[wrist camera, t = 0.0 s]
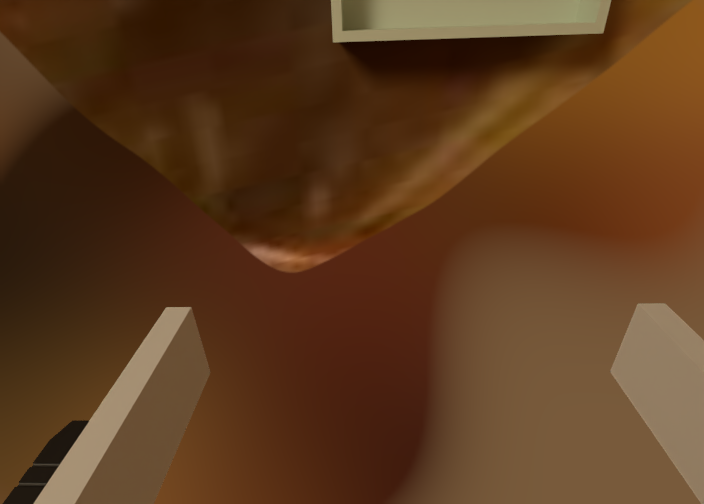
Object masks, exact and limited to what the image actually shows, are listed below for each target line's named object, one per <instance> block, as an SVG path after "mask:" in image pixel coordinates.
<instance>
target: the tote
mask: <svg viewBox="0 0 704 504" xmlns="http://www.w3.org/2000/svg"><path fill="white" fill-rule="evenodd" d="M610 4H611V0H331V9H332V30H333V42H360V41H390V40H420V39H450V38H480V37H510V36H540V35H570V34H600V33H603V32H604V28H605V24H606V20H607V16H608V12H609V8H610Z"/></svg>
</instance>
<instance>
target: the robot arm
mask: <svg viewBox="0 0 704 504" xmlns="http://www.w3.org/2000/svg"><path fill="white" fill-rule="evenodd" d="M610 372H611V374H612V375H613V377H614V378H615V379H616V381H617V382H618V384H619V385H620V387H621V388H622V389H623V391H624V393H625V394H626V395H627V396H628V398H629V400H630V401H631V403H632V404H633V406H634V407H635V409H636V410H637V411H638V413H639V414H640V416H641V417H642V419H643V420H644V422H645V423H646V425H647V426H648V427H649V429H650V430H651V432H652V433H653V435H654V436H655V438H656V439H657V440H658V442H659V443H660V445H661V446H662V448H663V449H664V451H665V452H666V454H667V455H668V456H669V458H670V459H671V461H672V462H673V464H674V465H675V467H676V468H677V470H678V471H679V472H680V474H681V475H682V477H683V478H684V479H685V481H686V483H687V484H688V485H689V487H690V488H691V490H692V491H693V493H694V494H695V495H696V497H697V498H698V500H699V501H700V503H701V504H704V340H702V338H701V337H700V336H699V335H698V334H696V333H695V332H694V331H693V330H692V329H691V328H690V327H689V326H688V325H687V324H686V323H685V322H684V321H683V320H682V319H681V318H680V317H679V316H678V315H677V314H675V313H674V311H673V310H671V309H670V308H669V307H668V306H667V305H666V304H665V303H653V304H638V305H637V307H636V309H635V312H634V314H633V317H632V319H631V322H630V324H629V327H628V329H627V332H626V334H625V337H624V339H623V341H622V344H621V346H620V349H619V351H618V354H617V356H616V359H615V361H614V363H613V366H612V368H611V371H610ZM209 374H210V370H209V366H208V363H207V360H206V356H205V353H204V349H203V346H202V342H201V339H200V336H199V332H198V329H197V325H196V322H195V318H194V315H193V311H192V308H191V307H167V308H166V309H165V310H164V312H163V313H162V315H161V316H160V318H159V319H158V320H157V322H156V323H155V325H154V326H153V328H152V329H151V331H150V332H149V334H148V335H147V337H146V338H145V340H144V341H143V343H142V344H141V346H140V347H139V349H138V350H137V351H136V353H135V354H134V356H133V357H132V359H131V360H130V362H129V363H128V365H127V366H126V368H125V369H124V371H123V372H122V374H121V375H120V377H119V378H118V380H117V381H116V382H115V384H114V386H113V387H112V388H111V390H110V392H109V393H108V394H107V396H106V397H105V399H104V400H103V402H102V403H101V405H100V406H99V408H98V409H97V411H96V412H95V413H94V415H93V416H92V418H91V419H90V421H72V422H70V423H69V424H68V425H67V426H66V427H65V428H63V429H62V430H61V431H60V432H59V433H58V434H56V435H55V436H54V437H53V438H52V439H51V440H50V441H49V442H48V443H47V445H46V446H45V447H44V449H43V450H42V451H41V453H40V454H39V455H38V457H37V458H36V460H35V461H34V462H33V466H32V467H30V468H29V469H28V470H27V472H26V473H25V474H24V476H23V477H22V478H21V480H20V481H19V485H18V486H17V487H15V488H14V489H13V491H12V492H11V493H10V495H9V496H8V497H7V499H6V500H5V501H4V503H3V504H154V502H155V499H156V497H157V495H158V492H159V490H160V488H161V485H162V483H163V480H164V478H165V476H166V473H167V471H168V469H169V467H170V464H171V462H172V460H173V457H174V455H175V453H176V451H177V448H178V446H179V444H180V441H181V439H182V437H183V434H184V432H185V430H186V427H187V425H188V423H189V420H190V418H191V416H192V413H193V411H194V409H195V407H196V404H197V402H198V399H199V397H200V395H201V392H202V390H203V388H204V385H205V383H206V381H207V379H208V376H209Z"/></svg>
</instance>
